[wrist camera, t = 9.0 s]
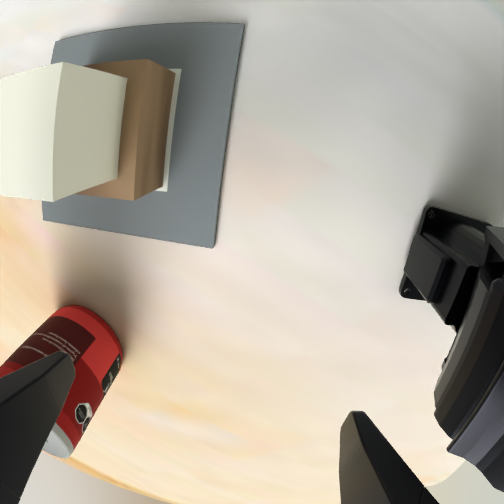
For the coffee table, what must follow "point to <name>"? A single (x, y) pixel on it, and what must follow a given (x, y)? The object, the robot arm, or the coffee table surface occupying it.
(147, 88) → the walnut base
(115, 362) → the canned food
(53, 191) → the cream cube
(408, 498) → the robot arm
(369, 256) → the coffee table surface
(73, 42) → the building mat
